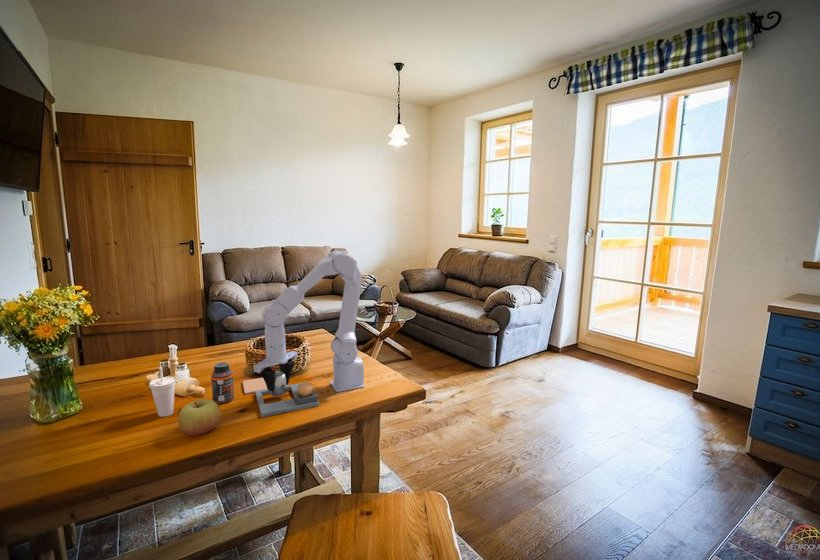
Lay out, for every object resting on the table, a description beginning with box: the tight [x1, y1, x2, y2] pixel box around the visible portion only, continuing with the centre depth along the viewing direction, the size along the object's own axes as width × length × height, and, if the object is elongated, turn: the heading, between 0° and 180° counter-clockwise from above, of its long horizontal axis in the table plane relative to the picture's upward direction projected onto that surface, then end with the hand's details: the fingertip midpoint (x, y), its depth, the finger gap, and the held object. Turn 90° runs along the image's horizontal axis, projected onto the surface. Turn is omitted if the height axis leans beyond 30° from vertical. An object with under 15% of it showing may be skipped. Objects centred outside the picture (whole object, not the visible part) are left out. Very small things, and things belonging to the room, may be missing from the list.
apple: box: [177, 398, 221, 436], centre depth 105 cm, size 10×10×8 cm
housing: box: [254, 381, 320, 418], centre depth 123 cm, size 16×16×3 cm
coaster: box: [242, 377, 267, 395], centre depth 133 cm, size 10×10×1 cm
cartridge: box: [269, 370, 288, 397], centre depth 123 cm, size 5×5×7 cm
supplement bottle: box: [210, 362, 235, 405], centre depth 122 cm, size 6×6×11 cm
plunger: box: [297, 382, 314, 397], centre depth 121 cm, size 4×4×4 cm
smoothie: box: [148, 366, 177, 418], centre depth 113 cm, size 6×6×14 cm
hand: (278, 387), depth 123 cm, fingers closed on cartridge, 5 cm apart
